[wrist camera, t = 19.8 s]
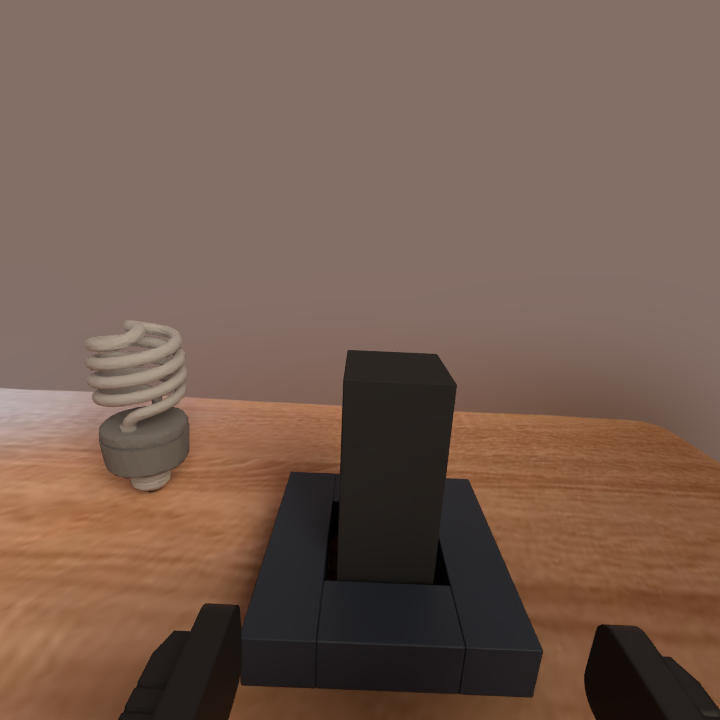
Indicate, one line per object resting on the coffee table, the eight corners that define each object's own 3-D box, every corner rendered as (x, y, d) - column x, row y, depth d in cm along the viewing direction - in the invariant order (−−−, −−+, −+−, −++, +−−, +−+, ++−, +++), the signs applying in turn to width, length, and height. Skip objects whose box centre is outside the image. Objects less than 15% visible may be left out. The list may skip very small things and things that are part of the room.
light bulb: (180, 515, 26) (163, 332, 23) (87, 516, 26) (55, 329, 22) (205, 468, 31) (194, 314, 28) (130, 468, 31) (109, 311, 28)
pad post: (417, 547, 24) (437, 353, 21) (429, 616, 20) (457, 384, 16) (340, 544, 24) (347, 349, 21) (335, 612, 20) (343, 379, 16)
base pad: (464, 511, 28) (468, 478, 27) (533, 697, 16) (543, 651, 16) (291, 503, 28) (290, 471, 27) (240, 686, 16) (237, 638, 16)
